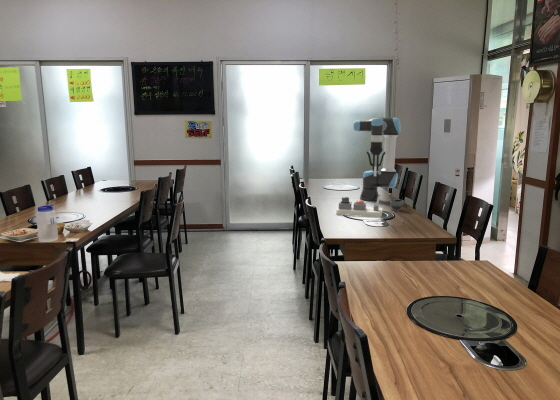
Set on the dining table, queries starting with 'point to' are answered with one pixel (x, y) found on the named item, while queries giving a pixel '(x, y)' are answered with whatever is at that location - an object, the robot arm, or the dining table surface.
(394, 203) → the mortar and pestle
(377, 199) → the lever
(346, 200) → the button black
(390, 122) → the robot arm
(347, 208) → the console
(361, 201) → the button red
